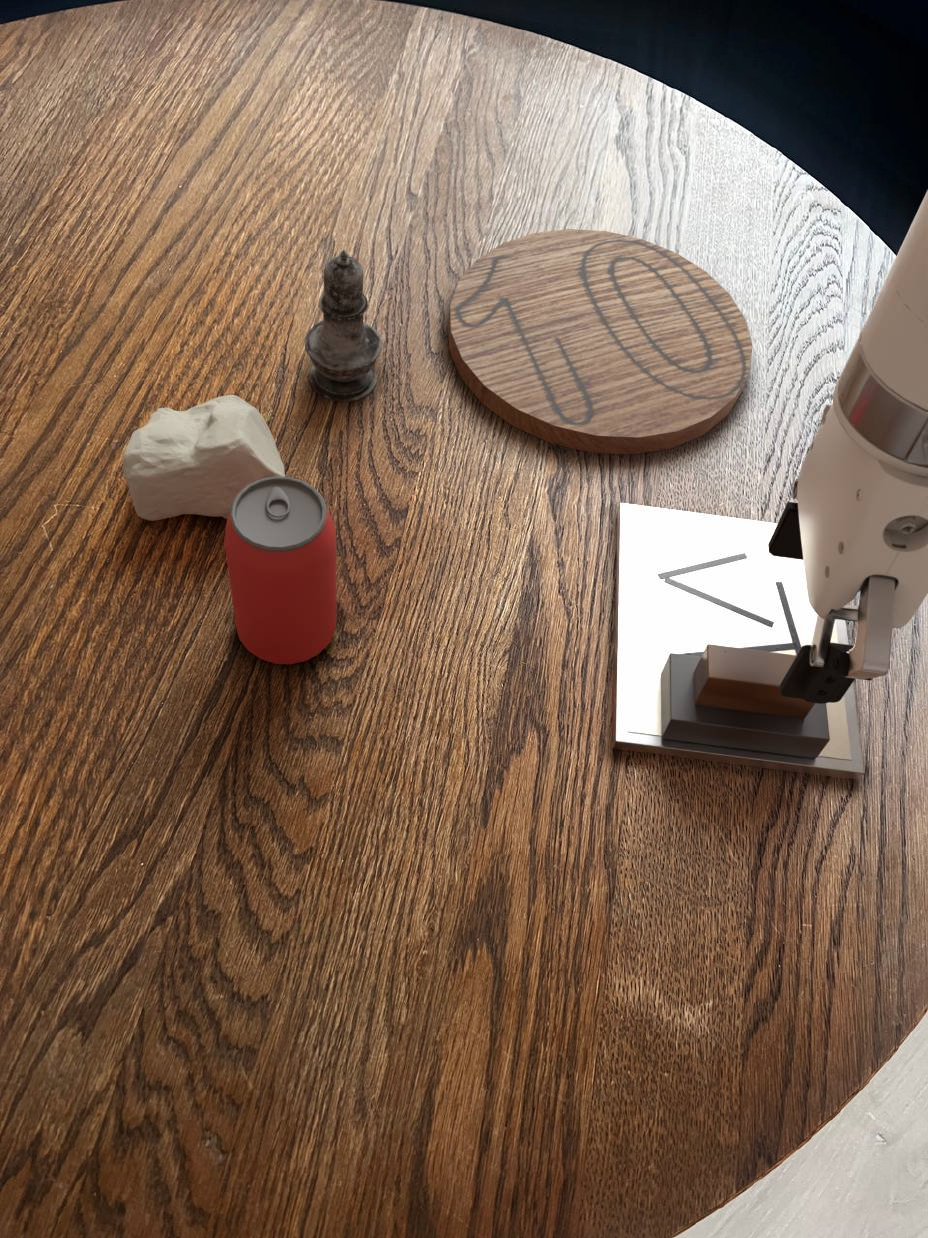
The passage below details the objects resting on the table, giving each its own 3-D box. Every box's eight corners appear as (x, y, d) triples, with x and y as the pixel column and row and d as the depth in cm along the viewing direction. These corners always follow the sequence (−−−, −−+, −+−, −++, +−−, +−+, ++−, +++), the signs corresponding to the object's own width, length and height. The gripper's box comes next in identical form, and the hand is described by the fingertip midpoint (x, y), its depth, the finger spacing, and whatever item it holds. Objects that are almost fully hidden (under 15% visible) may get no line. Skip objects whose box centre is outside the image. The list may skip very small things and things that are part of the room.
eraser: (810, 692, 75) (842, 644, 70) (816, 759, 72) (850, 713, 67) (660, 672, 74) (682, 623, 70) (661, 739, 72) (684, 692, 67)
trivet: (529, 489, 84) (532, 472, 82) (400, 279, 96) (401, 261, 95) (803, 410, 91) (812, 392, 90) (652, 224, 104) (657, 206, 102)
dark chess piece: (290, 380, 88) (283, 252, 78) (337, 341, 91) (336, 213, 81) (349, 415, 87) (351, 289, 77) (395, 374, 90) (402, 248, 80)
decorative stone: (263, 396, 85) (283, 372, 75) (278, 518, 85) (299, 509, 76) (112, 406, 81) (113, 382, 72) (128, 533, 82) (131, 525, 72)
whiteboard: (858, 780, 72) (865, 772, 71) (612, 748, 72) (615, 740, 71) (830, 539, 84) (835, 529, 83) (617, 511, 84) (620, 501, 83)
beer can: (331, 583, 77) (329, 464, 68) (342, 664, 74) (342, 551, 64) (233, 591, 76) (217, 472, 66) (239, 674, 73) (224, 560, 63)
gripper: (1057, 556, 44) (886, 766, 58) (980, 279, 54) (850, 514, 68) (867, 531, 44) (741, 748, 58) (825, 258, 54) (727, 498, 68)
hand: (800, 621), depth 63 cm, fingers open, 9 cm apart
